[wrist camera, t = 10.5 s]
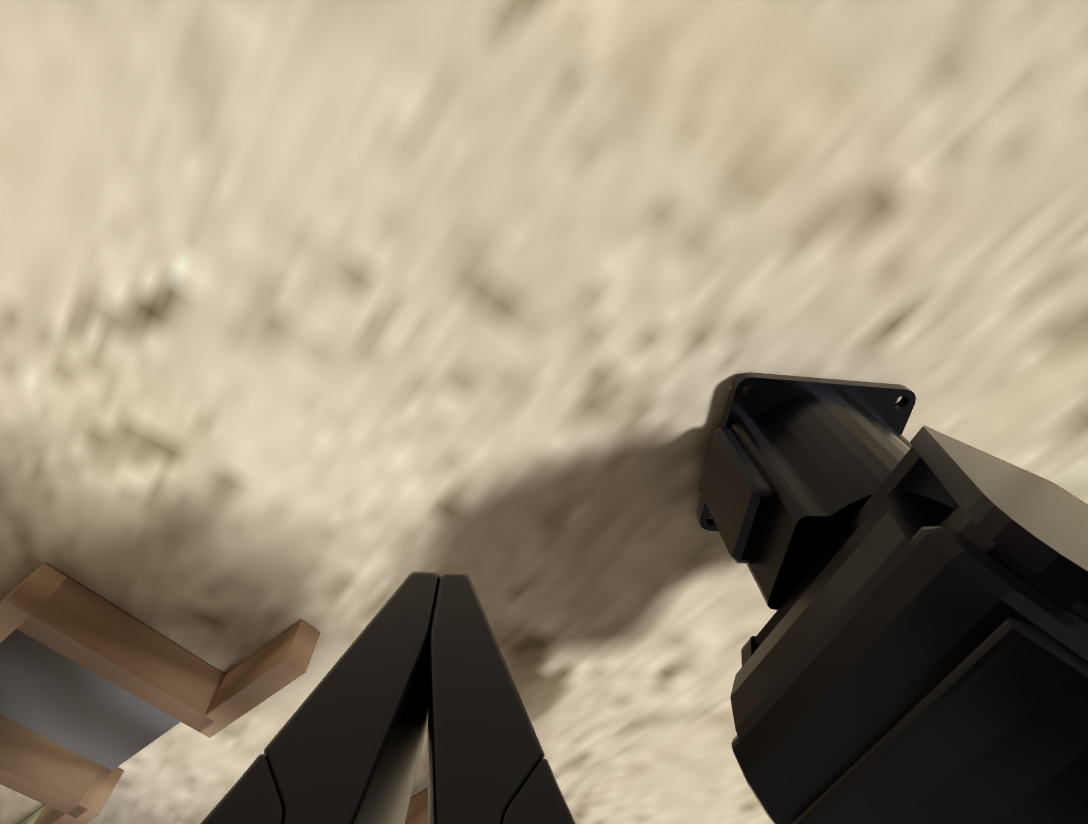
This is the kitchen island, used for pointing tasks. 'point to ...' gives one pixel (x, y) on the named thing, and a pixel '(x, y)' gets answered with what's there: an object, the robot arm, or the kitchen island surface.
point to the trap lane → (112, 693)
